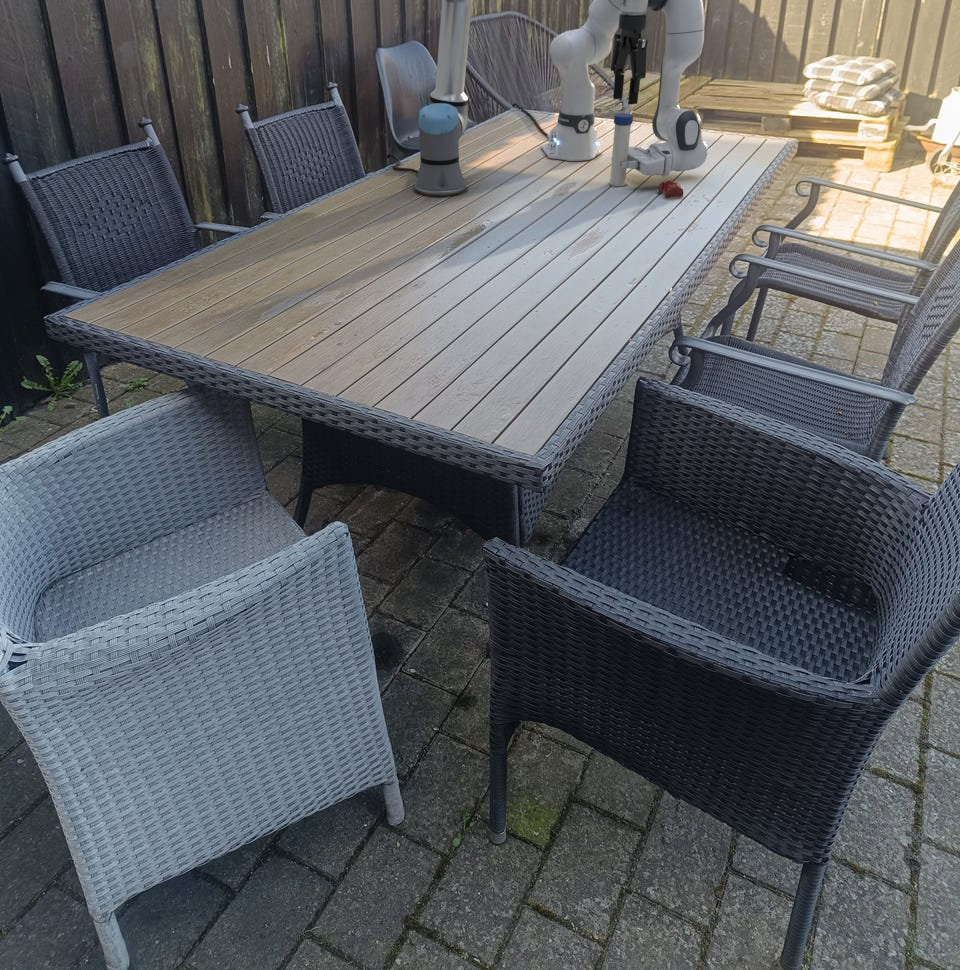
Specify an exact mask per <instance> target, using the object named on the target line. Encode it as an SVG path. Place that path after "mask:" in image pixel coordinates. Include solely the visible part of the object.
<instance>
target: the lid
mask: <svg viewBox="0 0 960 970" xmlns="http://www.w3.org/2000/svg"><path fill="white" fill-rule="evenodd" d="M633 120H634V115H633V114H631V113H625V112H619V113H618V112H617V113H615V114H614V116H613V124H614V125H615V124H617V125H630V124H631V125H632V124H633Z"/></svg>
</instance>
